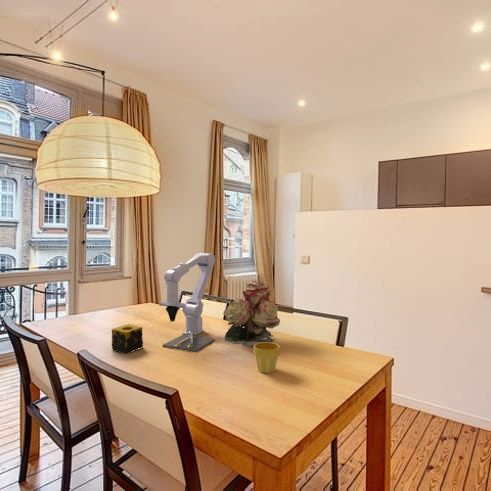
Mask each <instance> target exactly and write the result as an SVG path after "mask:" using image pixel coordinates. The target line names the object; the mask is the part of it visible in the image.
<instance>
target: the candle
mask: <svg viewBox="0 0 491 491" xmlns="http://www.w3.org/2000/svg"><path fill="white" fill-rule="evenodd" d="M143 344H144V341H143V326H139V325H135V324H130V323H128V324H124V325H121V326H117V327H115V328H112V329H111V350H112V349H113V350H112V351H114V350H117V351H120V352H119V353H121V352H123V353H122V354H125V353H127V354H129V353H128V352H130V353H132V352H131V351H133V350H135V351H137V350H136V349H138V348H141V347H142V348H144V345H143ZM142 348H141V349H142ZM138 350H139V349H138ZM117 351H116V352H117ZM133 352H134V351H133Z"/></svg>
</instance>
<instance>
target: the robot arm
mask: <svg viewBox="0 0 491 491" xmlns="http://www.w3.org/2000/svg"><path fill="white" fill-rule="evenodd" d="M215 258H216V257H215V255H214V254H213V253H211V252H210V253H208V252H197V253H196V254H194V256H193V257H191V258H190V259H189V260H188V261H186V262H179V264H178V265H177V266H174V267H173V268H172V269H169V270H167V271H166V272H165V273H164V275H163V279H164V280H165V285H166V301H164V300H163V301H159V305H158V306H159V307H161V306H162V307H165V311H166V312H167V314H168V317H169V318H168V319H169V321H170V322H171V323H172V322H175V321H176V317H177V314H178V312H179V309H182V313H183V314H184V317H185V331H183V332H181V333H182V334H181V335H183V334H185V335H188V331H194V336H198V335H199V334H201V333H202V332H204V331H205V330H204V329H203V317H202V314H203V308H204V302H203V301H202V299H203V296H204V294H205V291H206V288H207V285H208V283H209V280H210V278H211V275H212V272H213V269H214V265H215V263H216V259H215ZM194 266H198V268H199V270H200V271H201V272H200V275H199V276H198V279H197V282H196V284H195V287H194V290H193V292H192V295H191V297H190V298H188V299H186V301H185V303H184V302H183V303H182V302H179V282H180V281H181V279H182V277H184V276H185V275H186V274H188V273H189V271H190V269H191V268H193V267H194Z"/></svg>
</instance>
